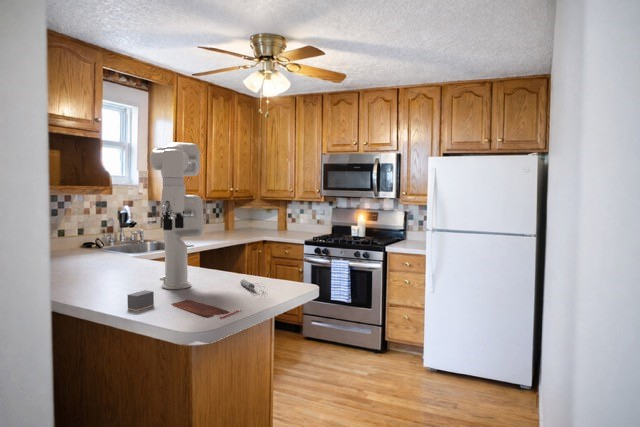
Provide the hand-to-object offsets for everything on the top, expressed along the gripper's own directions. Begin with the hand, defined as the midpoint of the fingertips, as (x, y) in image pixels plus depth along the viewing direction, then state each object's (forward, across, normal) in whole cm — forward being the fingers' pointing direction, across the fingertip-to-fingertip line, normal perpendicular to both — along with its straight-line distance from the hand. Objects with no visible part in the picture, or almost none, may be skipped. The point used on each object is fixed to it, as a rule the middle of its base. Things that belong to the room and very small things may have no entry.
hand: (173, 229), depth 165 cm
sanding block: (+29, +4, -11) cm, 31 cm away
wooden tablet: (+30, +1, +10) cm, 31 cm away
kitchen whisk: (+29, -26, +22) cm, 45 cm away
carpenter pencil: (+30, +9, +24) cm, 39 cm away
